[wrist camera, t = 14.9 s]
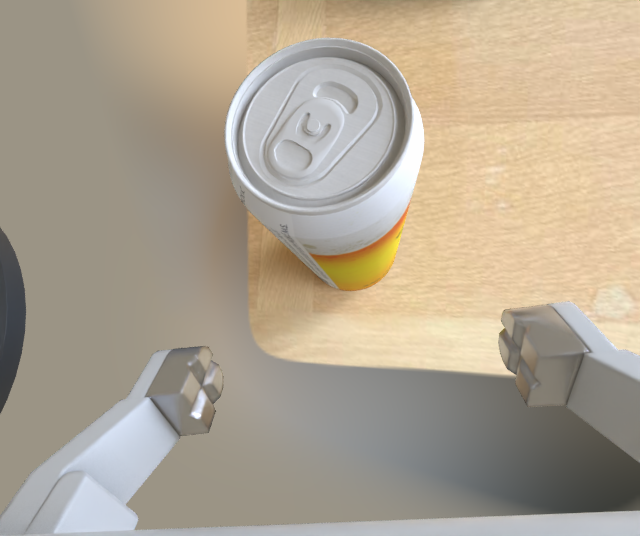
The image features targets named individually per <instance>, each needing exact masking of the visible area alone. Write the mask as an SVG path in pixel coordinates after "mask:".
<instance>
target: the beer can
mask: <svg viewBox="0 0 640 536" xmlns="http://www.w3.org/2000/svg"><path fill="white" fill-rule="evenodd" d="M224 132H225V134H224V135H225V147H226V152H227V156H228V166H229V172H230V176H231V180H232V184H233V186H234V188H235V191H236V193H237V195H238V196H239V198H240V200H241V201H242V203H243V204H244V205H245V207H246V208H247V209H248V210H249V211H250V212H251V213H252V214H253V215H254V216H255V217H256V218H257V219H258V220H259V221H260V222H261V223H262V224H263V225H264V226H265V227H266V228H267V229H268V230H269V231H271V232H272V233H273V234H274V235H275V236H276V237H277V238H278V239H279V240H280V241H281V242H282V243H283V244H284V245H285V246H286V247H287V248H289V249H290V250H291V251H292V252H293V253H294V254H295V255H296V256H297V257H298V258H299V259H300V260H301V261H302V262H303V263H304V264H305V265H306V266H308V267H309V268H310V269H311V270H312V271H313V272H314V273H315V274H316V275H317V276H318V277H319V278H320V279H321V280H322V281H324V282H325V283H326V284H328V285H330V286H332V287H334V288H337V289H340V290H345V291H356V290H362V289H365V288H368V287H371V286H372V285H374V284H376V283H377V282H379V281H380V280H381V279H382V278H383V277H384V276H385V275H386V274H387V273H388V271H389V270H390V268H391V266H392V264H393V262H394V259H395V255H396V252H397V248H398V244H399V241H400V237H401V233H402V230H403V226H404V223H405V219H406V215H407V212H408V208H409V204H410V201H411V197H412V193H413V190H414V186H415V182H416V179H417V175H418V171H419V168H420V164H421V160H422V156H423V148H424V130H423V124H422V119H421V116H420V113H419V110H418V108H417V105H416V103H415V101H414V99H413V98H412V96H411V92H410V89H409V87H408V85H407V82H406V80H405V78H404V77H403V75H402V74H401V72H400V71H399V69H398V68H397V67H396V66H395V65H394V63H392V62H391V61H390V60H389V59H388V58H387V57H386V56H384V55H383V54H382V53H380V52H379V51H377V50H375V49H373V48H372V47H370V46H368V45H365V44H362V43H360V42H356V41H352V40H348V39H341V38H318V39H312V40H306V41H303V42H299V43H296V44H293V45H290V46H288V47H286V48H283V49H281V50H279V51H277V52H276V53H274V54H272V55H271V56H269V57H268V58H266V59H265V60H264V61H262V62H261V63H260V64H259V65H258V66H257V67H255V68H254V69H253V70H252V71H251V72H250V74H249V75H248V76H247V77H246V78H245V79H244V81H243V82H242V84H241V85H240V86H239V88H238V90H237V91H236V93H235V95H234V97H233V99H232V101H231V103H230V107H229V110H228V113H227V117H226V122H225V131H224Z"/></svg>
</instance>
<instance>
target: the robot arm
mask: <svg viewBox="0 0 640 536" xmlns="http://www.w3.org/2000/svg"><path fill="white" fill-rule="evenodd" d="M501 322H502V324H503V325H504V327H505V328H504V329H503V330H502V331H501V332H500V333H499V342H498V343H499V349H500V354H501V357H502V360H503V362H504V364H505V366H506V368H507V369H508V370H510V371H511V372H513V373H514V374H516V375H517V376H516V381H515V384H516V386H517V388H518V390H519V392H520V393H521V396H522V397H523V399H524V401H525V403H526V405H527V407H539V406H556V405H557V406H558V405H567V406H566V407H567V408H568V409H570V410H571V411H572V412H574V413H575V414H576V415H577V416H579V417H580V418H581V419H583V420H584V421H585V422H587V423H588V424H589V425H591V426H592V427H593V428H595V429H596V430H597V431H599V432H600V433H601V434H602V435H604V436H605V437H607V438H608V439H609V440H610V441H612V442H613V443H614V444H616V445H617V446H618V447H620V448H621V449H622V450H623V451H625V452H626V453H627V454H629V455H630V456H632V457H633V458H634V459H635V460H637V461H638V462H639V463H640V356H639V355H637V354H635V353H632V352H630V351H628V350H618V349H617V348H616V347H615V346H614V345H613V344H612V343H611V342H610V341H609V340H608V339H607V338H606V336H605V335H604V334H603V333H602V332H601V331H600V330H599V329H598V328H597V327H596V326H595V325H594V324H593V323H592V322H591V321H590V320H589V319H588V317H587V316H586V315H585V314H584V313H583V312H582V311H581V310H580V309H579V308H578V307H577V306H576V305H575V304H574V303H572V302H570V301H567V302H559V303H552V304H547V305H537V306H529V307H522V308H514V309H506V310H504V311H503V313H502V317H501ZM212 356H213V353H212V352H211V350H210V349H209V347H206V346H200V347H189V348H179V349H172V350H161V351H157V352H155V353H154V354H153V355H152V356H151V358H150V360H149V361H148V363H147V365H146V366H145V368H144V370H143V371H142V373H141V375H140V377H139V378H138V380H137V382H136V383H135V385H134V386H133V388H132V390H131V391H130V393H129V395H128V397H127V398H126V399H125V400H120V401H119V402H118V403H116V404H115V405H114V406H113V407H111V408H110V409H109V410H108V411H106V412H105V413H104V414H103V415H102V416H100V417H99V418H98V419H97V420H95V421H94V422H93V423H92V424H90V425H89V426H88V427H87V428H85V429H84V430H83V431H82V432H80V433H79V434H78V435H77V436H76V437H74V438H73V439H72V440H71V441H69V442H68V443H67V444H66V445H64V446H63V447H62V448H61V449H59V450H58V451H57V452H56V453H54V454H53V455H52V456H51V457H50V458H48V459H47V460H46V461H45V462H43V463H42V464H41V465H40V466H38V467H37V468H36V469H35V470H33V471H32V472H31V473H30V475H29V476H28V477H27V479H26V480H25V482H24V483H23V484H22V486H21V487H20V489H19V490H18V492H17V493H16V494H15V496H14V497H13V498H12V500H11V501H10V503H9V504H8V506H7V507H6V508H5V510H4V511H3V512H2V514H1V515H0V536H640V511H622V512H597V513H570V514H544V515H518V516H517V515H516V516H491V517H466V518H438V519H412V520H387V521H360V522H334V523H307V524H281V525H255V526H230V527H205V528H180V529H154V530H134V529H135V527H136V524H137V522H138V517H137V514H136V513H134V512H133V511H132V510H131V509H130V508H129V507H127V506H126V505H125V504H126V503H127V502H128V501H129V499H130V498H131V497H132V496H133V495H134V493H135V492H136V491H137V490H138V489H139V487H140V486H141V485H142V484H143V483H144V481H145V480H146V479H147V478H148V477H149V475H150V474H151V473H152V472H153V470H154V469H155V468H156V467H157V466H158V464H159V463H160V462H161V461H162V460H163V458H164V457H165V456H166V455H167V454H168V452H169V451H170V450H171V449H172V448H173V446H174V445H175V444H176V443H177V441H178V440H179V439H180V436H186V435H195V434H204V433H209V430H210V427H211V424H212V421H213V418H214V414H215V412H216V410H215V408H214V405H213V404H214V403H215V402H216V401H217V400H218V399H219V398H220V396H221V393H222V390H223V373H222V370H221V368H220V366H219V365H218V364H217V363H215V362H213V361H212V360H211V358H212Z"/></svg>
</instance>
